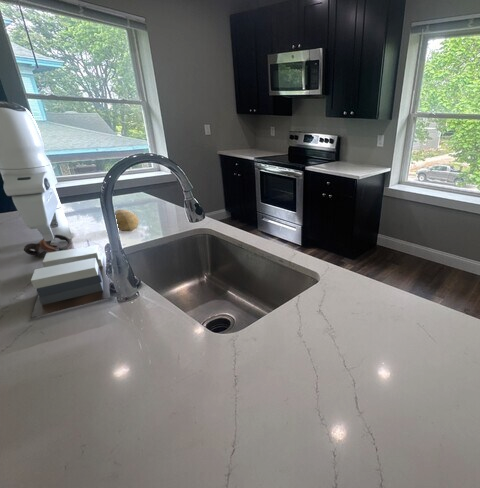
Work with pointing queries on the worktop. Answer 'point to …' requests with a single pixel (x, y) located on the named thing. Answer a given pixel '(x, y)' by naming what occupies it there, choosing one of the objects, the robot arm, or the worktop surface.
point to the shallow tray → (75, 301)
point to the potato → (126, 220)
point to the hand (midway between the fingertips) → (52, 233)
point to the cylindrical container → (60, 222)
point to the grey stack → (70, 289)
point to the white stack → (73, 256)
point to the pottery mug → (46, 246)
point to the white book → (64, 273)
